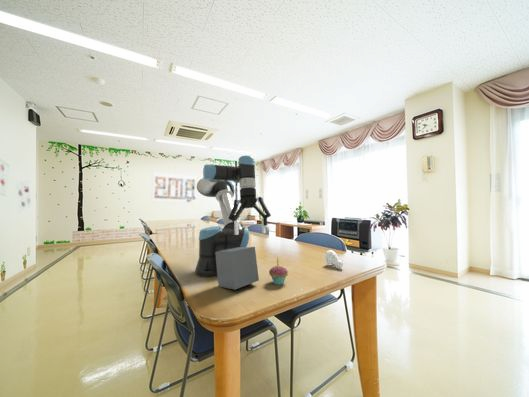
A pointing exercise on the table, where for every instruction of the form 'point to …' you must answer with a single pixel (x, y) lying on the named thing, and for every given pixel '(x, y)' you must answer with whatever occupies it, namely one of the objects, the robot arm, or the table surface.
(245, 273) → the grey chamfered box
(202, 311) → the table surface
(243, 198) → the robot arm
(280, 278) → the cupcake
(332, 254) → the white figurine
